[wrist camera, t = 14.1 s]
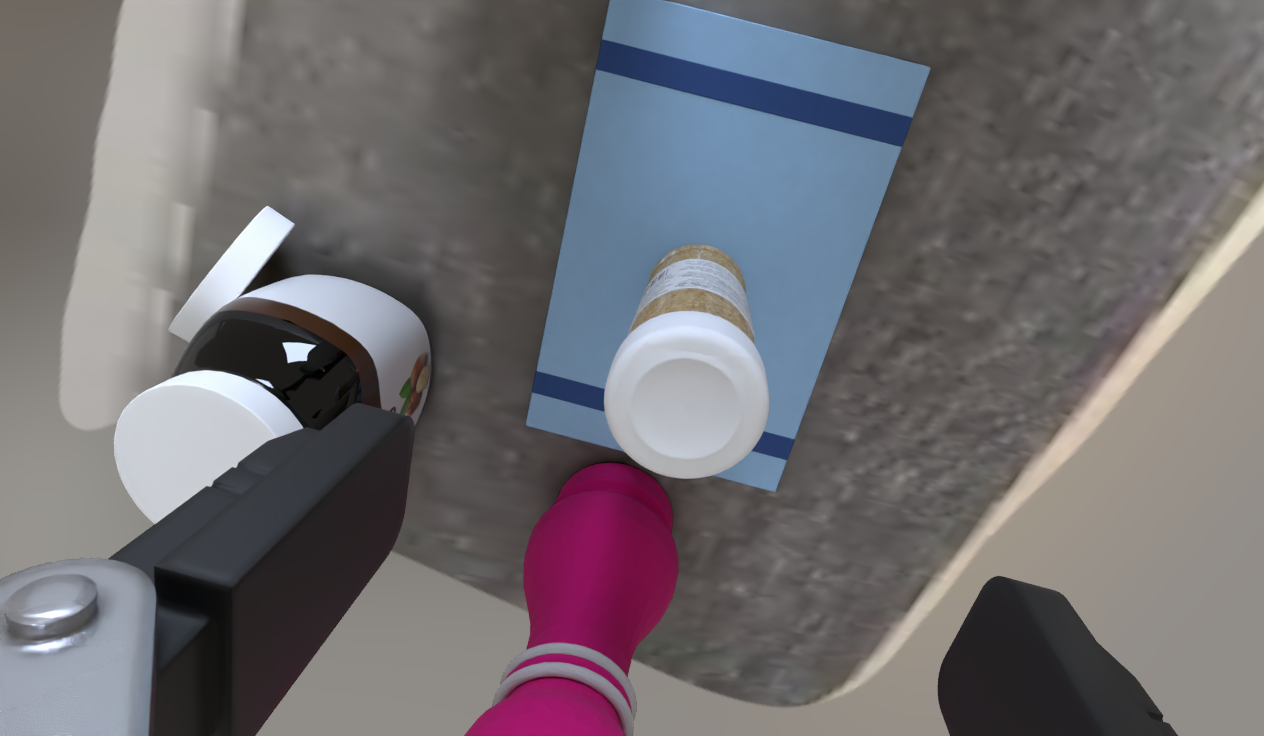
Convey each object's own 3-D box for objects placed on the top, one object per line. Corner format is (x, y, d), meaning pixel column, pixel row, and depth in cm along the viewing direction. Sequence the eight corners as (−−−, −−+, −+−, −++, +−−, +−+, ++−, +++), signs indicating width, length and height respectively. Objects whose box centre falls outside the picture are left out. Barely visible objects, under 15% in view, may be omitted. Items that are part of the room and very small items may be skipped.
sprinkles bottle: (692, 358, 32) (679, 513, 19) (625, 287, 31) (566, 402, 18) (768, 294, 30) (807, 418, 18) (700, 218, 29) (691, 292, 17)
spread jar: (414, 469, 36) (286, 617, 26) (216, 395, 36) (2, 513, 25) (469, 262, 32) (344, 336, 21) (244, 177, 32) (1, 207, 21)
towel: (614, -11, 27) (611, -14, 27) (927, 68, 27) (931, 66, 26) (528, 421, 35) (524, 426, 34) (774, 486, 34) (775, 493, 34)
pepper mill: (710, 506, 35) (706, 944, 16) (629, 592, 38) (546, 1059, 19) (597, 426, 34) (458, 794, 16) (522, 520, 37) (325, 934, 18)
